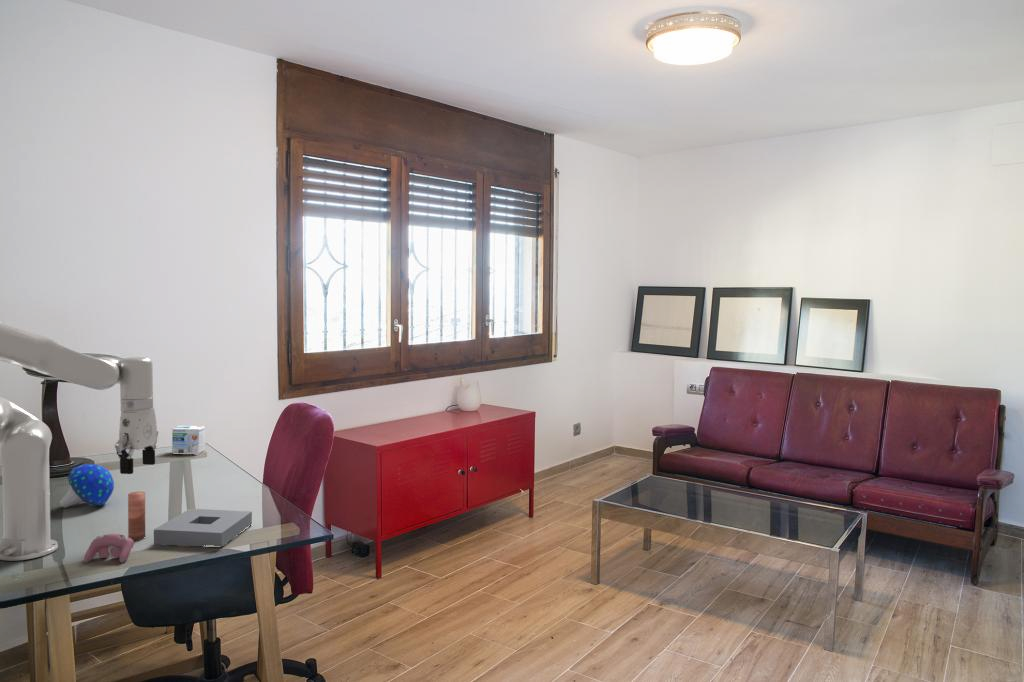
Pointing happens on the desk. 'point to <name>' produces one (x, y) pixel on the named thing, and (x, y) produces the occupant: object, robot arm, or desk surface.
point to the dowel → (136, 515)
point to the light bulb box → (188, 439)
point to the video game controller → (106, 541)
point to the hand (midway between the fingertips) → (138, 468)
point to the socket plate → (202, 527)
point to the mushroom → (88, 486)
